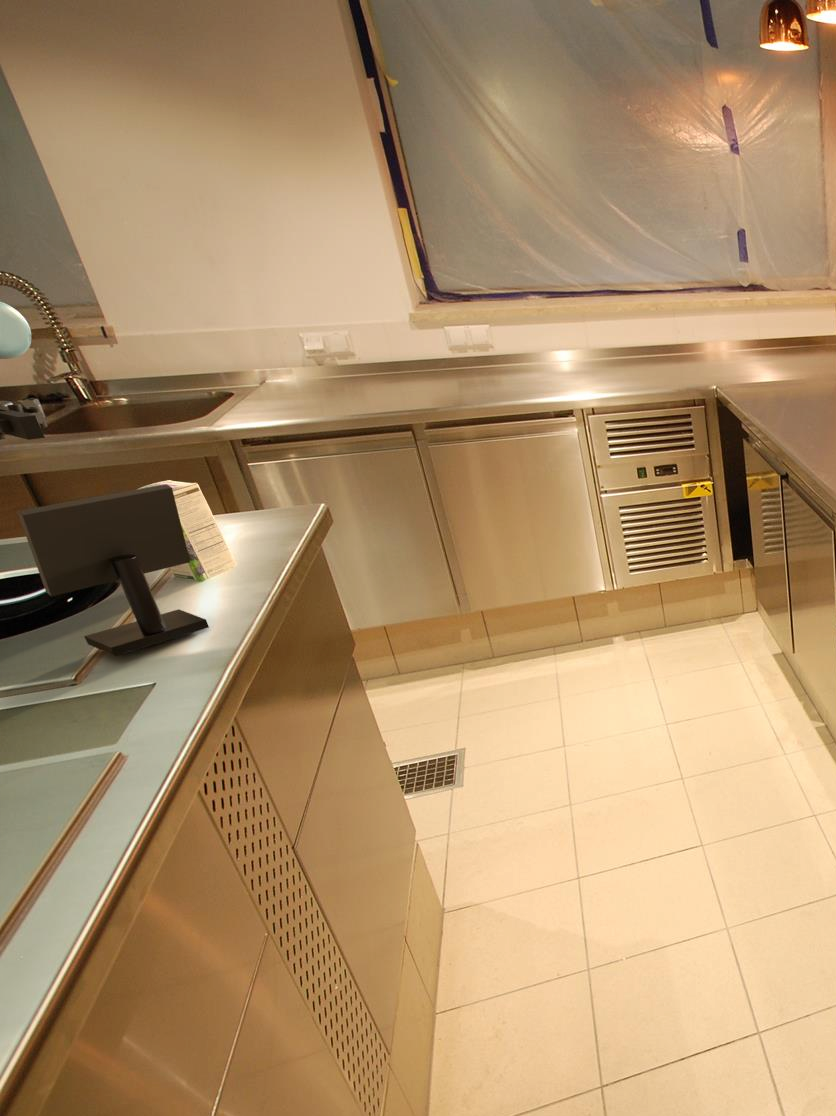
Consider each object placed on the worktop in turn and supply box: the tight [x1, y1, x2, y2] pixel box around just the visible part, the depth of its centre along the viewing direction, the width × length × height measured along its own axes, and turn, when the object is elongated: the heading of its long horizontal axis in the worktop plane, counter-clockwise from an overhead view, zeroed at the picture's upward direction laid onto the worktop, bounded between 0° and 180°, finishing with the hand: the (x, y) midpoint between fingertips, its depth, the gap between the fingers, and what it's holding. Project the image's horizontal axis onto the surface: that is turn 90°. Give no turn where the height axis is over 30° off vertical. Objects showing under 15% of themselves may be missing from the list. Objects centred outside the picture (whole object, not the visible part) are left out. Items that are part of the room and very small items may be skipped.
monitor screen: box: [17, 484, 190, 597], centre depth 103 cm, size 14×1×11 cm, turn 153°
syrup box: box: [138, 479, 238, 583], centre depth 124 cm, size 6×6×14 cm
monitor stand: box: [83, 554, 210, 657], centre depth 107 cm, size 10×7×11 cm
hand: (31, 427), depth 102 cm, fingers closed
